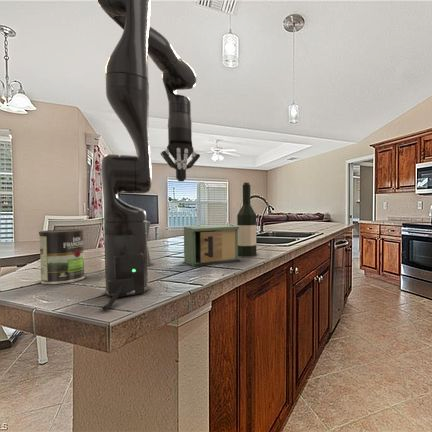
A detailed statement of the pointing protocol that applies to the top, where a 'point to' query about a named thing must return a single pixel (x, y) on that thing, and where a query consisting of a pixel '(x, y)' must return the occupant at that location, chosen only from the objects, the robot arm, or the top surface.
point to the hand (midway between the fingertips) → (181, 181)
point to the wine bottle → (246, 225)
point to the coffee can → (61, 256)
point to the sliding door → (210, 246)
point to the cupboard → (194, 244)
